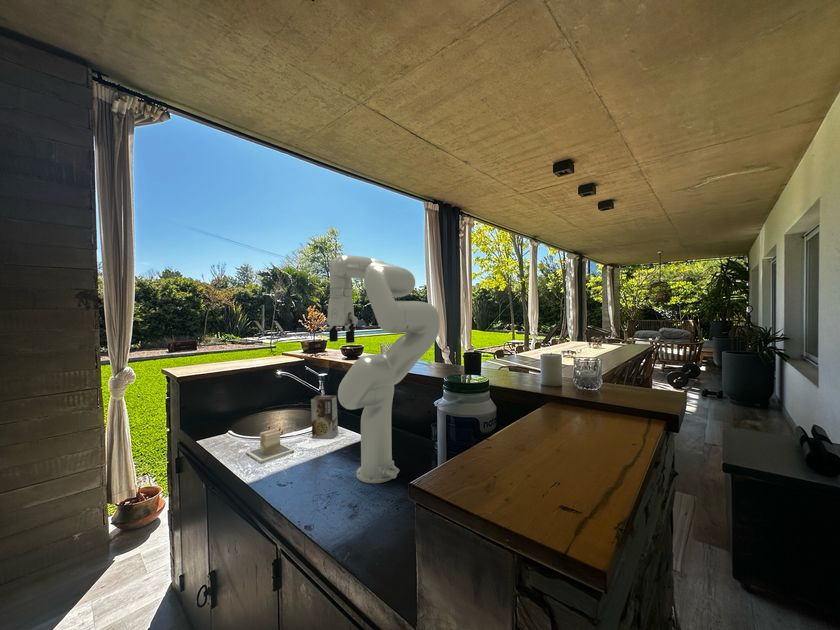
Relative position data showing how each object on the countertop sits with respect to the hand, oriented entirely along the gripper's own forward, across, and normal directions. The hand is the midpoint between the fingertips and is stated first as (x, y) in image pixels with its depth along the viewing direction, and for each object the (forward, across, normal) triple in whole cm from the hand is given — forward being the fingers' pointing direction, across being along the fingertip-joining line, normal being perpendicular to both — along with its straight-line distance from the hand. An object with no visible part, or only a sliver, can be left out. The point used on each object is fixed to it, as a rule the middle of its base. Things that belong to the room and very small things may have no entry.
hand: (341, 342), depth 121 cm
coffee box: (+40, -22, +7) cm, 47 cm away
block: (+40, -22, -16) cm, 48 cm away
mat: (+40, -22, -16) cm, 49 cm away
